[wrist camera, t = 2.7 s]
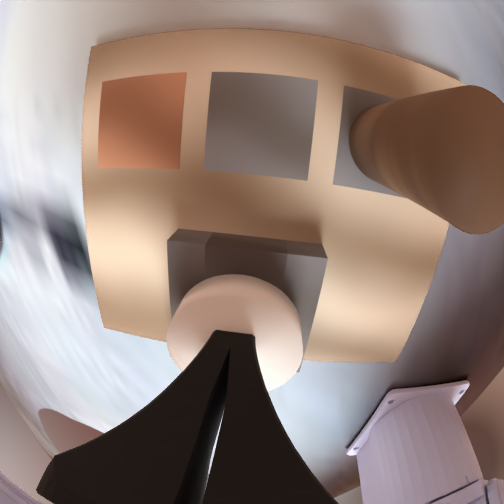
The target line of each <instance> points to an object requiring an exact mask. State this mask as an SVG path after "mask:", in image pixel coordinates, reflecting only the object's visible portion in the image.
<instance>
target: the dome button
mask: <svg viewBox="0 0 504 504" xmlns="http://www.w3.org/2000/svg"><path fill="white" fill-rule="evenodd" d="M215 330H223V331H230V332H238V333H246V334H253V335H254V336H255V343H256V352H257V357H258V361H259V366H260V370H261V373H262V376H263V379H264V383H265V386H266V389H267V391H271V390H273V389H275V388H277V387H279V386H281V385H283V384H284V383H286V382H287V381H288V380H289V379H290V378H292V376H293V375H294V374H295V373H296V372H297V370H298V368H299V366H300V364H301V361H302V357H303V343H302V333H301V323H300V318H299V314H298V312H297V309H296V308H295V306H294V304H293V303H292V301H291V300H290V299H289V297H288V296H287V295H286V294H284V293H283V292H282V291H281V290H280V289H278V288H277V287H276V286H274V285H272V284H270V283H269V282H266V281H264V280H262V279H259V278H255V277H252V276H247V275H239V274H227V275H219V276H215V277H211V278H208V279H206V280H204V281H202V282H200V283H198V284H197V285H195V286H194V287H193V288H191V289H190V290H189V291H188V292H187V294H186V295H185V296H184V298H183V300H182V301H181V303H180V305H179V307H178V309H177V311H176V313H175V315H174V316H173V318H172V320H171V322H170V324H169V327H168V330H167V346H168V350H169V353H170V355H171V357H172V359H173V361H174V362H175V364H176V365H177V366H178V368H179V369H180V370H181V371H182V372H183V371H184V369H185V368H186V367H187V366H188V365H189V364H190V362H191V361H192V360H193V359H194V358H195V357H196V355H197V354H198V353H199V351H200V350H201V349H202V348H203V346H204V345H205V343H206V342H207V341H208V339H209V338H210V336H211V334H212V333H213V331H215Z"/></svg>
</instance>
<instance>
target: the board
mask: <svg viewBox="0 0 504 504" xmlns="http://www.w3.org/2000/svg"><path fill="white" fill-rule="evenodd" d="M459 86H467V85H466V84H464V83H462V82H460V81H458V80H456V79H454V78H452V77H449V76H447V75H445V74H443V73H441V72H438V71H436V70H434V69H431V68H429V67H427V66H424V65H422V64H419V63H416V62H414V61H411V60H408V59H406V58H403V57H400V56H397V55H394V54H391V53H388V52H384V51H381V50H378V49H374V48H371V47H367V46H363V45H359V44H355V43H351V42H347V41H342V40H338V39H333V38H327V37H322V36H316V35H310V34H303V33H295V32H286V31H276V30H263V29H238V28H221V29H196V30H182V31H172V32H164V33H156V34H149V35H143V36H137V37H132V38H127V39H122V40H117V41H113V42H109V43H105V44H101V45H97V46H93V47H91V52H90V58H89V64H88V71H87V79H86V87H85V97H84V109H83V125H82V185H83V202H84V215H85V225H86V234H87V242H88V250H89V256H90V263H91V269H92V275H93V280H94V285H95V290H96V295H97V300H98V305H99V309H100V313H101V317H102V321H103V325H104V328H108V329H112V330H115V331H119V332H123V333H128V334H132V335H136V336H140V337H145V338H149V339H154V340H159V341H164V342H167V330H168V327H169V324H170V322H171V320H172V318H173V316H174V315H175V313H176V311H177V309H178V307H179V305H180V303H181V301H182V300H183V298H184V296H185V295H186V294H187V292H188V291H189V290H190V289H191V288H193V287H194V286H195V285H197V284H198V283H200V282H202V281H204V280H206V279H208V278H211V277H215V276H219V275H227V274H239V275H247V276H252V277H255V278H259V279H262V280H264V281H266V282H269V283H270V284H272V285H274V286H276V287H277V288H278V289H280V290H281V291H282V292H283V293H284V294H286V295H287V296H288V297H289V299H290V300H291V301H292V303H293V304H294V306H295V308H296V309H297V312H298V314H299V318H300V323H301V333H302V343H303V357H302V361H303V360H310V361H330V362H396V361H397V359H398V357H399V355H400V353H401V351H402V349H403V347H404V345H405V343H406V341H407V339H408V337H409V335H410V332H411V330H412V328H413V326H414V324H415V321H416V319H417V317H418V315H419V312H420V310H421V307H422V305H423V302H424V300H425V297H426V295H427V292H428V290H429V287H430V284H431V282H432V279H433V276H434V273H435V270H436V267H437V264H438V261H439V258H440V255H441V252H442V248H443V245H444V242H445V238H446V235H447V231H448V227H449V223H448V222H447V221H445V220H444V219H442V218H440V217H439V216H437V215H435V214H434V213H432V212H430V211H429V210H427V209H425V208H424V207H422V206H420V205H418V204H417V203H415V202H413V201H411V200H409V199H408V198H406V197H404V196H402V195H400V194H398V193H397V192H395V191H393V190H391V189H389V188H387V187H385V186H383V185H381V184H379V183H377V182H375V181H373V180H371V179H370V178H368V177H367V176H365V175H364V174H363V173H362V172H361V171H360V170H359V168H358V167H357V166H356V164H355V162H354V160H353V158H352V155H351V152H350V147H349V135H350V130H351V127H352V125H353V123H354V121H355V119H356V118H357V117H358V115H359V114H360V113H362V112H363V111H364V110H366V109H368V108H370V107H372V106H376V105H380V104H383V103H387V102H391V101H395V100H398V99H402V98H406V97H411V96H415V95H419V94H424V93H428V92H433V91H438V90H443V89H448V88H454V87H459ZM302 361H301V364H302ZM301 364H300V366H299V368H298V370H297V372H299V371H300V367H301Z"/></svg>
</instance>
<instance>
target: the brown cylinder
mask: <svg viewBox="0 0 504 504" xmlns="http://www.w3.org/2000/svg"><path fill="white" fill-rule="evenodd" d="M349 147H350V152H351V155H352V158H353V160H354V162H355V164H356V166H357V167H358V168H359V170H360V171H361V172H362V173H363V174H364V175H365V176H367V177H368V178H370V179H371V180H373V181H375V182H377V183H379V184H381V185H383V186H385V187H387V188H389V189H391V190H393V191H395V192H397V193H398V194H400V195H402V196H404V197H406V198H408V199H409V200H411V201H413V202H415V203H417V204H418V205H420V206H422V207H424V208H425V209H427V210H429V211H430V212H432V213H434V214H435V215H437V216H439V217H440V218H442V219H444V220H445V221H447V222H448V223H450V224H452V225H453V226H455V227H456V228H458V229H460V230H461V231H463V232H466V233H469V234H484V233H488V232H490V231H493V230H494V229H496V228H498V227H499V226H500V225H501V224H503V223H504V103H503V102H502V101H501V100H500V99H499V98H498V97H497V96H496V95H494V94H493V93H491V92H490V91H488V90H486V89H484V88H481V87H478V86H472V85H467V86H459V87H454V88H448V89H443V90H438V91H433V92H428V93H424V94H419V95H415V96H411V97H406V98H402V99H398V100H395V101H391V102H387V103H383V104H380V105H376V106H372V107H370V108H368V109H366V110H364V111H363V112H362V113H360V114H359V115H358V117H357V118H356V119H355V121H354V123H353V125H352V127H351V130H350V135H349Z"/></svg>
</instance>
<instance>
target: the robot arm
mask: <svg viewBox="0 0 504 504" xmlns="http://www.w3.org/2000/svg"><path fill="white" fill-rule="evenodd" d="M468 387H469V382H468V380H465V381H459V382H453V383H447V384H440V385H432V386H424V387H415V388H404V389H393V390H391V391H389V392H388V393H387V394H386V396H385V398H384V399H383V401H382V402H381V404H380V405H379V407H378V408H377V410H376V411H375V413H374V414H373V416H372V417H371V419H370V420H369V421H368V423H367V424H366V426H365V427H364V428H363V430H362V431H361V433H360V434H359V435H358V437H357V438H356V439H355V440H354V442H353V443H352V444H351V446H350V447H349V448H348V449H347V451H346V453H347V455H357V462H358V469H359V476H360V483H361V491H362V500H363V504H504V480H497V479H496V478H494V479H492V480H491V481H489V482H488V480H483V476H482V473H481V470H480V467H479V464H478V461H477V458H476V456H475V454H474V450H473V448H472V445H471V442H470V440H469V438H468V435H467V433H466V430H465V428H464V426H463V423H462V421H461V419H460V416H459V414H458V412H457V409H456V407H455V404H456V403H457V401H458V400H459V399H460V397H461V396H462V395H463V394H464V392H465V391H466V390H467V388H468ZM224 408H225V409H224ZM223 412H224V413H223ZM222 415H223V418H222ZM221 419H222V423H221V427H220V432H219V436H218V441H217V445H216V449H215V454H214V458H213V462H212V466H211V470H210V474H209V478H208V482H207V487H206V481H207V475H208V470H209V464H210V458H211V454H212V450H213V446H214V443H215V439H216V436H217V433H218V429H219V426H220V422H221ZM205 487H206V490H205ZM36 490H37V493H38V494H40V495H41V496H43V497H44V498H46V499H47V500H49V501H51V502H52V503H54V504H338V502H337V501H336V500H335V499H334V498H333V497H332V496H331V495H330V494H329V493H328V492H327V491H326V489H325V488H324V487H323V486H322V485H321V483H320V482H319V481H318V480H317V478H316V477H315V476H314V475H313V473H312V472H311V471H310V469H309V468H308V466H307V465H306V463H305V462H304V460H303V459H302V457H301V456H300V455H299V453H298V452H297V450H296V449H295V447H294V445H293V444H292V442H291V440H290V438H289V437H288V435H287V433H286V431H285V429H284V427H283V426H282V424H281V422H280V420H279V418H278V415H277V413H276V411H275V409H274V406H273V404H272V402H271V399H270V397H269V394H268V391H267V389H266V386H265V383H264V379H263V376H262V373H261V370H260V366H259V361H258V357H257V352H256V343H255V336H254V335H253V334H246V333H238V332H230V331H223V330H215V331H213V333H212V334H211V336H210V338H209V339H208V341H207V342H206V343H205V345H204V346H203V348H202V349H201V350H200V351H199V353H198V354H197V355H196V357H195V358H194V359H193V360H192V361H191V362H190V364H189V365H188V366H187V367H186V368H185V369H184V371H183V372H182V373H181V374H180V375H179V376H178V377H177V378H176V379H175V380H174V381H173V382H172V383H171V384H170V385H169V386H168V387H167V388H166V389H165V390H164V391H163V392H162V393H161V394H159V395H158V396H157V397H156V398H155V399H154V400H153V401H151V402H150V403H149V404H148V405H146V406H145V407H144V408H143V409H141V410H140V411H139V412H137V413H136V414H134V415H133V416H132V417H130V418H129V419H127V420H126V421H124V422H123V423H121V424H120V425H118V426H117V427H115V428H113V429H111V430H110V431H108V432H106V433H104V434H103V435H101V436H99V437H97V438H95V439H93V440H91V441H89V442H87V443H85V444H83V445H81V446H78V447H76V448H73V449H71V450H68V451H66V452H63V453H61V454H58V455H55V456H54V458H53V459H52V461H51V462H50V463H49V465H48V467H47V468H46V471H45V472H44V474H43V476H42V478H41V480H40V482H39V485H38V487H37V489H36ZM204 493H205V494H204ZM0 504H43V503H42V502H40V501H39V500H37V499H36V498H34V497H33V496H31V495H30V494H28V493H27V492H26V491H24V490H23V489H22V488H20V487H19V486H17V485H16V484H15V483H14V482H12V481H11V480H10V479H8V478H7V477H6V476H5V475H4V474H3V473H1V472H0Z"/></svg>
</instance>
